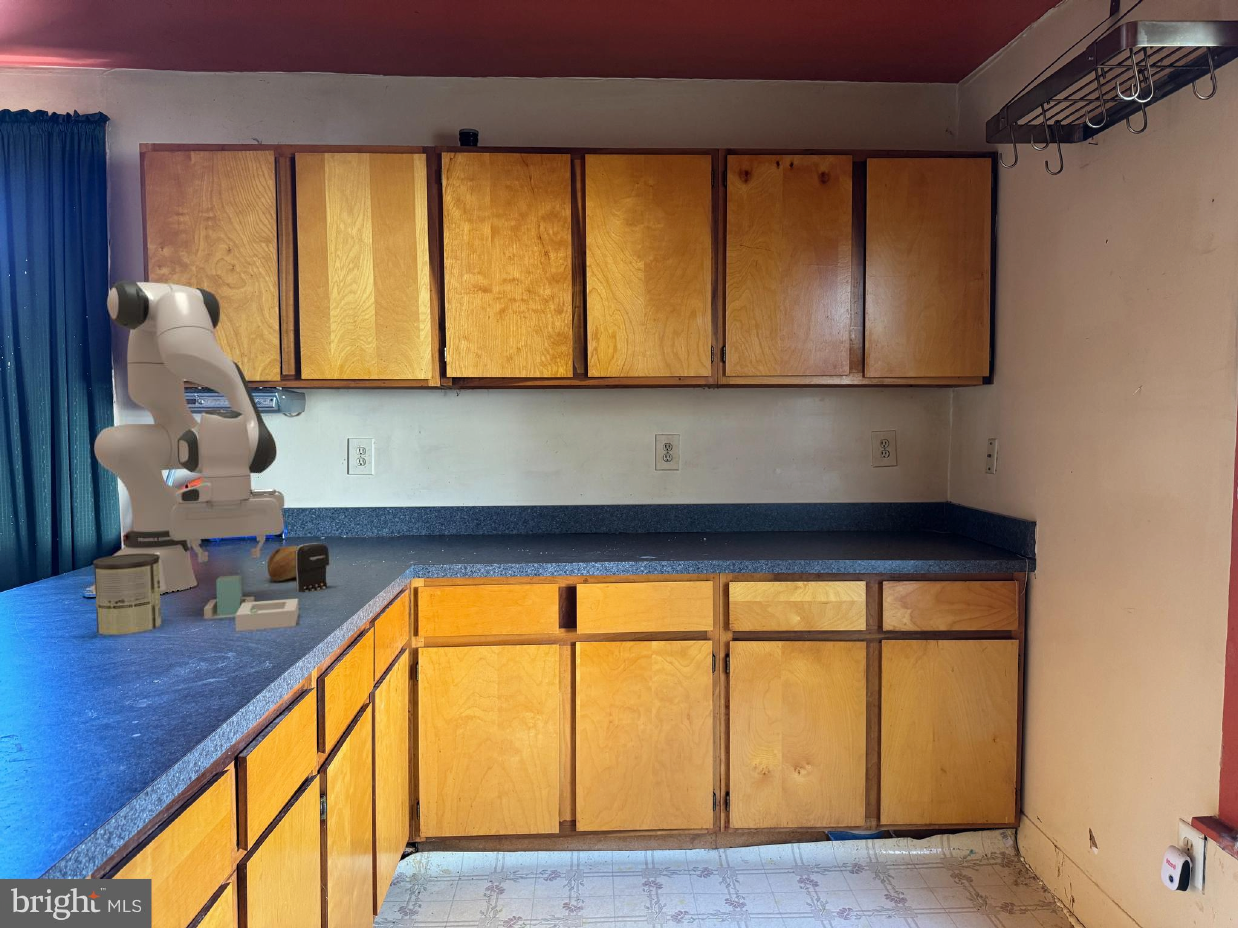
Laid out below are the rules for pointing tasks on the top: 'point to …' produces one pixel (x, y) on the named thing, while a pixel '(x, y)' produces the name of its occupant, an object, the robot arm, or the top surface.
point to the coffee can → (127, 593)
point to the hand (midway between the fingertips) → (229, 559)
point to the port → (267, 615)
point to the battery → (311, 566)
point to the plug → (229, 594)
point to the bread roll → (282, 563)
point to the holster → (211, 608)
